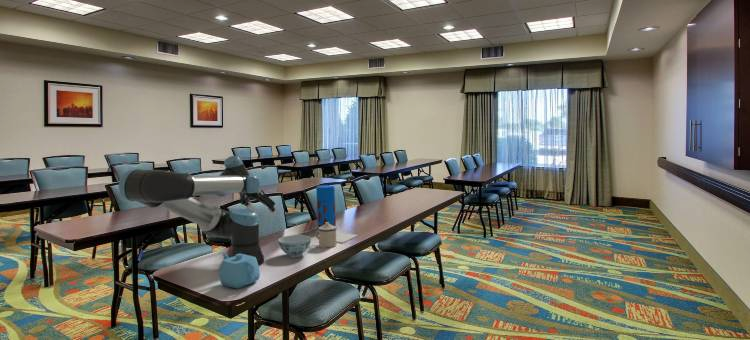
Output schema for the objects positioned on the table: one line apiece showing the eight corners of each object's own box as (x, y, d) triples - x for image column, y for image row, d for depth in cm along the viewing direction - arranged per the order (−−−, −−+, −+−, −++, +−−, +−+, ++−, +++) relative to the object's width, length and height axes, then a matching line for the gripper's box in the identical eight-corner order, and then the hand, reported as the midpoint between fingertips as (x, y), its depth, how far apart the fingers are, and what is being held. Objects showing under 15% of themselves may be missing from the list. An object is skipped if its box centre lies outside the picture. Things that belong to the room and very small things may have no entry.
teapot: (236, 274, 167) (235, 246, 166) (266, 282, 157) (265, 253, 156) (209, 283, 157) (207, 254, 156) (239, 293, 147) (238, 261, 146)
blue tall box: (329, 225, 253) (328, 184, 250) (339, 228, 244) (338, 186, 242) (314, 228, 246) (312, 186, 243) (323, 231, 237) (322, 188, 235)
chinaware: (309, 259, 184) (308, 242, 184) (275, 260, 184) (274, 243, 184) (313, 250, 199) (313, 234, 199) (282, 250, 199) (282, 235, 199)
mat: (343, 243, 211) (343, 242, 211) (320, 240, 217) (320, 239, 216) (357, 236, 225) (357, 234, 225) (335, 233, 231) (335, 232, 231)
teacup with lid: (340, 244, 209) (339, 221, 208) (329, 248, 201) (328, 225, 200) (321, 241, 215) (320, 219, 214) (310, 245, 207) (309, 223, 206)
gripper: (270, 179, 196) (287, 210, 208) (230, 177, 206) (249, 207, 219) (262, 190, 191) (280, 221, 203) (221, 188, 201) (241, 217, 214)
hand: (264, 214), depth 211 cm, fingers open, 13 cm apart
